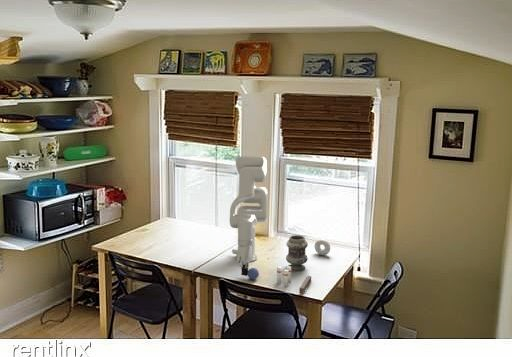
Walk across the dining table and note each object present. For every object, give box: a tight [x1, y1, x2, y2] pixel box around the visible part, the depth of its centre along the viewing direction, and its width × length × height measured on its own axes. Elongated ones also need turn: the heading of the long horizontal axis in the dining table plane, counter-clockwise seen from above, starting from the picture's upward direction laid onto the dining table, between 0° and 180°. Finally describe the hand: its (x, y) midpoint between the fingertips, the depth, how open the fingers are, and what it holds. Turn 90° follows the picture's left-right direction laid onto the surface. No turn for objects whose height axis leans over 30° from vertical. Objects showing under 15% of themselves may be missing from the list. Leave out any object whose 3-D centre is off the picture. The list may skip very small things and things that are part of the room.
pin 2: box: [285, 265, 292, 284], centre depth 255 cm, size 2×2×8 cm
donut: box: [314, 238, 331, 256], centre depth 294 cm, size 10×4×10 cm, turn 57°
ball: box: [247, 267, 260, 280], centre depth 259 cm, size 6×6×6 cm
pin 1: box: [282, 269, 289, 288], centre depth 250 cm, size 2×2×8 cm
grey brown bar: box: [298, 275, 312, 295], centre depth 250 cm, size 2×16×3 cm, turn 160°
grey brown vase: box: [285, 234, 309, 272], centre depth 273 cm, size 12×12×18 cm
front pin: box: [276, 266, 283, 285], centre depth 254 cm, size 2×2×8 cm
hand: (244, 274), depth 260 cm, fingers closed
